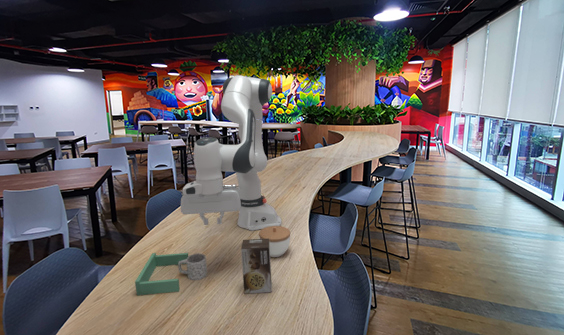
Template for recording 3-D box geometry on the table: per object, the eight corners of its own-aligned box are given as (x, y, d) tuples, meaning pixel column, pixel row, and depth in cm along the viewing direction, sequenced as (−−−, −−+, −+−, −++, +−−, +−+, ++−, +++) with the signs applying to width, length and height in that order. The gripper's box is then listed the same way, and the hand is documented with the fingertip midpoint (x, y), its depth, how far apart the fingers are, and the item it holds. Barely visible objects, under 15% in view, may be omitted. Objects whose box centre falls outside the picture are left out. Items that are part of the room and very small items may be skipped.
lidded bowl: (263, 263, 112) (262, 236, 110) (257, 248, 124) (255, 223, 122) (294, 257, 116) (294, 231, 113) (285, 243, 128) (284, 219, 125)
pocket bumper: (189, 262, 114) (187, 250, 113) (178, 291, 97) (177, 277, 95) (154, 264, 113) (152, 253, 112) (136, 295, 95) (134, 281, 94)
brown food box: (271, 281, 101) (270, 237, 98) (271, 292, 95) (270, 247, 91) (245, 282, 101) (242, 238, 97) (243, 294, 95) (240, 248, 91)
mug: (209, 269, 109) (207, 253, 108) (204, 280, 102) (202, 263, 101) (182, 269, 109) (180, 253, 108) (175, 280, 103) (173, 263, 101)
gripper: (240, 181, 104) (242, 218, 107) (181, 184, 102) (185, 222, 105) (240, 186, 98) (242, 225, 101) (177, 190, 95) (181, 229, 98)
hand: (212, 223), depth 103 cm, fingers open, 3 cm apart
